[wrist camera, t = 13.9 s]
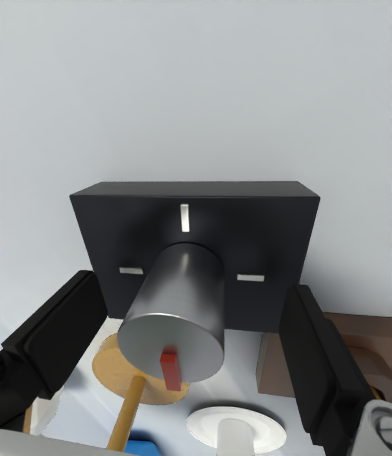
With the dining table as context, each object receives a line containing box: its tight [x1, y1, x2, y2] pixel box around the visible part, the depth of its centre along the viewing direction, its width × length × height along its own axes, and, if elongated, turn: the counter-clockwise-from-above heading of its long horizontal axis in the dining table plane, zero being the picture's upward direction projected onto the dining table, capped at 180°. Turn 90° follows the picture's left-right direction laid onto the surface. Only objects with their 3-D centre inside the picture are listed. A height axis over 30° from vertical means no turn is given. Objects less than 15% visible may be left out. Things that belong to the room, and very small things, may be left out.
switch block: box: [256, 313, 392, 403], centre depth 15 cm, size 11×9×4 cm
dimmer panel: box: [69, 181, 320, 334], centre depth 12 cm, size 12×9×3 cm
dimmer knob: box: [117, 243, 224, 392], centre depth 9 cm, size 4×4×5 cm
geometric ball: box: [30, 385, 65, 436], centre depth 21 cm, size 8×8×8 cm
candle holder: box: [186, 406, 286, 456], centre depth 23 cm, size 12×12×4 cm
